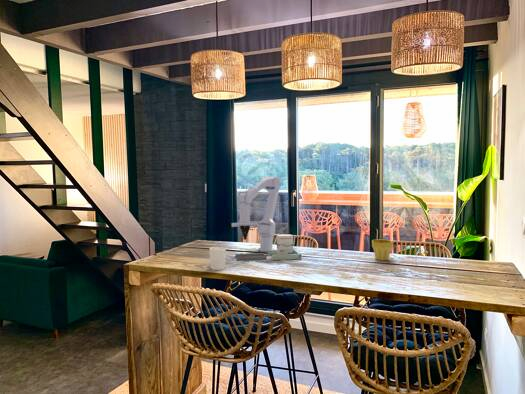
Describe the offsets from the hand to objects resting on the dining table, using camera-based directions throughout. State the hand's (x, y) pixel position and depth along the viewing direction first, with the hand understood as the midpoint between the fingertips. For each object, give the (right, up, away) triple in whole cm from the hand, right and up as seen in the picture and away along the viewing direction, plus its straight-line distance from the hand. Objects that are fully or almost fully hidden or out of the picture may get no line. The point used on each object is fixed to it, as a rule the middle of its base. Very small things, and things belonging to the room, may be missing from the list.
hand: (245, 239), depth 223 cm
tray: (+22, -9, -1) cm, 24 cm away
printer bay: (+4, -10, -4) cm, 11 cm away
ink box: (+22, -10, 0) cm, 24 cm away
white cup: (-12, -12, -26) cm, 31 cm away
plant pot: (+73, -10, -9) cm, 74 cm away
